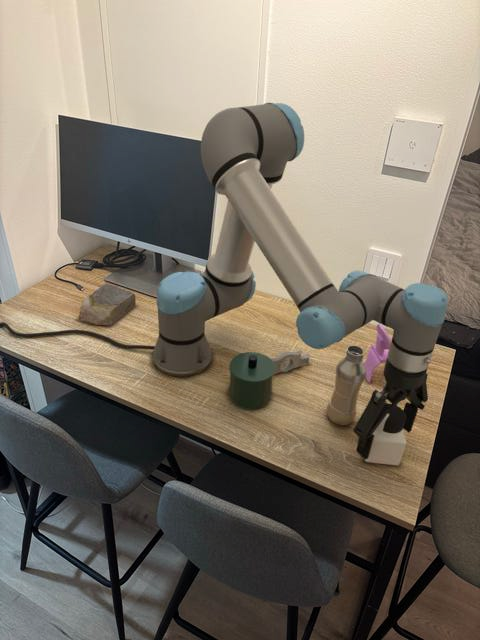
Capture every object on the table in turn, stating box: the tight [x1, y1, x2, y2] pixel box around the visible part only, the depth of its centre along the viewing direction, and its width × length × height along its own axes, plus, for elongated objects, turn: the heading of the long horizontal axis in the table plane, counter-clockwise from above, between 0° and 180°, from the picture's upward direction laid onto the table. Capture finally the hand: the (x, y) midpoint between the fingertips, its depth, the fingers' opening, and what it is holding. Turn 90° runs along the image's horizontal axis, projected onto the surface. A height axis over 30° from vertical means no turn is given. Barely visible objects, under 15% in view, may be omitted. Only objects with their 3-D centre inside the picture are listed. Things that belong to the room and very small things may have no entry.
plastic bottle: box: [326, 344, 366, 426], centre depth 108 cm, size 6×7×20 cm
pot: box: [229, 372, 274, 410], centre depth 116 cm, size 10×10×8 cm
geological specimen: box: [78, 282, 137, 327], centre depth 144 cm, size 11×6×15 cm
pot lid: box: [228, 351, 275, 383], centre depth 113 cm, size 11×11×4 cm
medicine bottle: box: [364, 402, 407, 466], centre depth 102 cm, size 7×7×12 cm
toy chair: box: [363, 323, 392, 383], centre depth 123 cm, size 8×9×15 cm
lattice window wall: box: [269, 348, 312, 375], centre depth 126 cm, size 12×2×6 cm, turn 117°
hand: (384, 440), depth 103 cm, fingers open, 13 cm apart
